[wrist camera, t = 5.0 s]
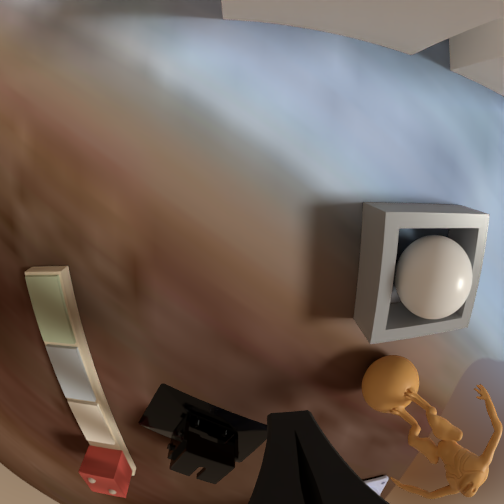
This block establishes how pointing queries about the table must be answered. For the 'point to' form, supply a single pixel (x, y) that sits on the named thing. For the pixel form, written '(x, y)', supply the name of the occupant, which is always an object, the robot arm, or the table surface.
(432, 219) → the housing
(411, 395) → the figurine
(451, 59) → the white brackets
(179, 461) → the black piece
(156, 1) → the table surface
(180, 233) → the table surface
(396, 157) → the table surface
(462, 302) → the white glossy sphere
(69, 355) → the space track
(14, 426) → the table surface
